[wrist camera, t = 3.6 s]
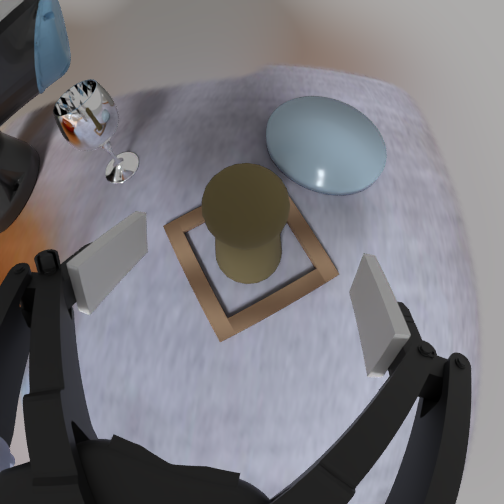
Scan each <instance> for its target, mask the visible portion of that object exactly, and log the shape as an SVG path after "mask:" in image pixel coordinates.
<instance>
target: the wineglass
mask: <svg viewBox="0 0 504 504" xmlns="http://www.w3.org/2000/svg"><path fill="white" fill-rule="evenodd" d="M53 113H54V116H55V120H56V122H57V125H58V127H59V129H60V131H61V133H62V135H63V137H64V138H65V139H66V141H67V142H68V143H69V144H70V145H71V146H72V147H74V148H75V149H77V150H80V151H92V150H95V149H98V148H99V147H102V148H103V149H104V150H106V151H107V152H108V153H109V154H110V155H111V156H112V158H113V159H112V160H111V161H110V162H109V164H108V166H107V168H106V172H105V175H106V178H107V180H108V181H109V182H110V183H113V184H119V183H123V182H125V181H127V180H128V179H130V178H131V177H132V176H133V175H134V173H135V172H136V170H137V168H138V165H139V159H138V157H137V155H136V154H134V153H132V152H124V153H121V154H119V155H117V156H116V155H115V154H114V152H113V150H112V148H111V144H110V141H109V140H110V139H111V138H112V136H113V135H114V133H115V132H116V129H117V127H118V123H119V114H118V110H117V107H116V104H115V103H114V101H113V99H112V98H111V97H110V95H109V94H108V93H107V92H106V90H105V89H104V88H103V87H102V86H101V85H100V84H99V83H98V82H96V81H95V80H91V79H90V80H85V81H82V82H80V83H78V84H76V85H74V86H73V87H71V88H70V89H69V90H67V91H66V92H65V93H64V94H63V95H62V96H61V97H60V98H59V100H58V101H57V103H56V104H55V106H54V110H53Z"/></svg>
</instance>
